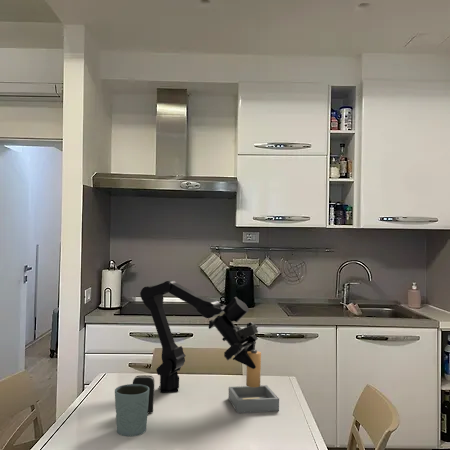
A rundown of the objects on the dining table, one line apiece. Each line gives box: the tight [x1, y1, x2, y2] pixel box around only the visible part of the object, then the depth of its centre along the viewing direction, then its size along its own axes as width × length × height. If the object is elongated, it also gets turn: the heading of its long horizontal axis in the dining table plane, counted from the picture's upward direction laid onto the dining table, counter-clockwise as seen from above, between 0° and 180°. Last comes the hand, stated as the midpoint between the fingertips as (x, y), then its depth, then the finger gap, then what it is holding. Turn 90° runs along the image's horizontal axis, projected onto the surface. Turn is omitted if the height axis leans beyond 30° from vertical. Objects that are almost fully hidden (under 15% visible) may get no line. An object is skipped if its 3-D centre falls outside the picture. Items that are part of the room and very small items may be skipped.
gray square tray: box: [228, 384, 280, 414], centre depth 164 cm, size 14×14×4 cm
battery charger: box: [132, 375, 155, 414], centre depth 155 cm, size 7×4×11 cm, turn 93°
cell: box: [245, 349, 262, 387], centre depth 164 cm, size 5×5×12 cm
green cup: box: [114, 383, 149, 437], centre depth 140 cm, size 10×10×12 cm
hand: (257, 366), depth 163 cm, fingers closed on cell, 5 cm apart
